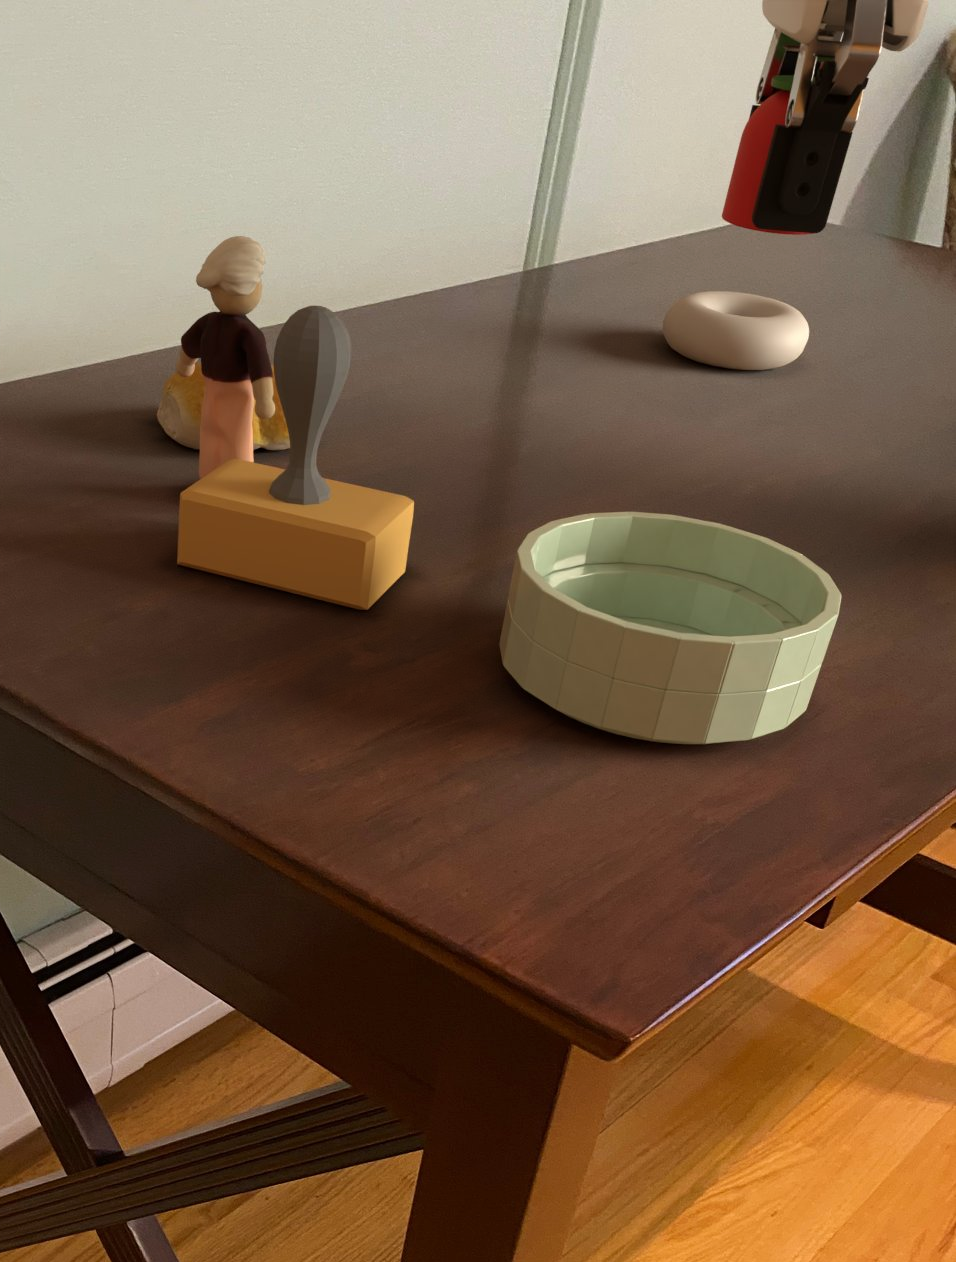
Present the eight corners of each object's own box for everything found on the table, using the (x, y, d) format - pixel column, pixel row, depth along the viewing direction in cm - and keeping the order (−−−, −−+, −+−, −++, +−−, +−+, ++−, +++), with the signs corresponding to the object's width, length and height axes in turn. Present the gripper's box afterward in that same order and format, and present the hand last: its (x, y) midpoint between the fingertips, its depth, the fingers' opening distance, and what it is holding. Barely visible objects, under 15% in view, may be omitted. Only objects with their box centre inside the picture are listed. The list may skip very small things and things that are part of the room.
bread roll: (334, 450, 86) (341, 379, 84) (190, 463, 84) (193, 389, 81) (276, 404, 92) (282, 336, 90) (140, 415, 89) (142, 345, 87)
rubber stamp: (407, 571, 73) (444, 311, 66) (364, 614, 69) (399, 342, 62) (225, 527, 76) (240, 274, 69) (174, 566, 72) (184, 302, 65)
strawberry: (810, 216, 71) (850, 77, 68) (832, 238, 68) (875, 93, 64) (713, 208, 71) (747, 69, 68) (730, 229, 68) (767, 84, 64)
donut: (827, 365, 106) (711, 326, 112) (844, 313, 104) (725, 277, 110) (746, 387, 101) (628, 345, 107) (761, 333, 99) (641, 294, 104)
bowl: (766, 627, 70) (798, 524, 67) (838, 768, 60) (879, 654, 57) (487, 605, 71) (506, 501, 68) (511, 741, 61) (534, 627, 57)
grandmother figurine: (299, 507, 79) (324, 246, 71) (253, 525, 77) (272, 258, 69) (192, 467, 83) (204, 216, 75) (145, 484, 81) (151, 226, 73)
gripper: (1092, -310, 51) (904, 268, 63) (948, -287, 64) (815, 187, 76) (870, -325, 51) (724, 252, 63) (773, -299, 64) (667, 174, 76)
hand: (775, 212), depth 69 cm, fingers closed on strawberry, 4 cm apart
